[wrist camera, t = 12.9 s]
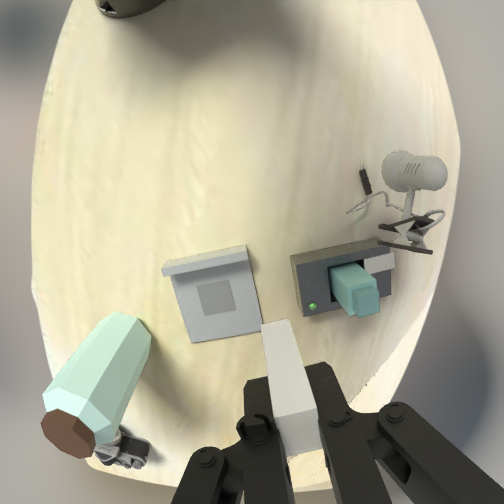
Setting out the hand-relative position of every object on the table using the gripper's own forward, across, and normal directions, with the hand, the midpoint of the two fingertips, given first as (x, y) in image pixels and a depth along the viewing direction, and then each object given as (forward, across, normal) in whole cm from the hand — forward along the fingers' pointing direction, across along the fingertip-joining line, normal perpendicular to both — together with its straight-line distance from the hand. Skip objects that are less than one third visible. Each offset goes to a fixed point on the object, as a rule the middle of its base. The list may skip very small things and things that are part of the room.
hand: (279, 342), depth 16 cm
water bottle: (+28, -25, -12) cm, 40 cm away
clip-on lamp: (+29, +17, +2) cm, 34 cm away
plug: (+28, +11, -9) cm, 31 cm away
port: (+28, +11, -9) cm, 32 cm away
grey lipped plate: (+28, -8, -9) cm, 31 cm away
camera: (+28, -39, -36) cm, 60 cm away
